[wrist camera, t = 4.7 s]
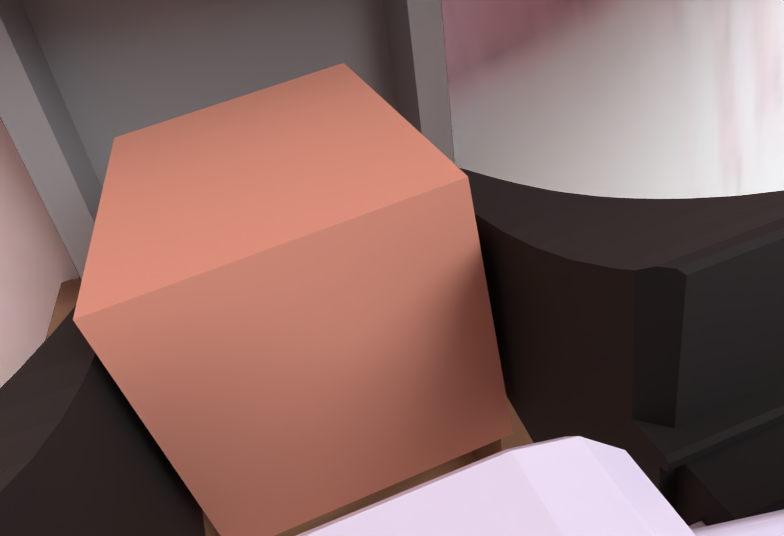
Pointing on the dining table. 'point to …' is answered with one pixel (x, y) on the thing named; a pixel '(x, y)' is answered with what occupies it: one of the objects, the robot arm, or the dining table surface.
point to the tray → (190, 75)
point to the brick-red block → (293, 301)
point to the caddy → (518, 438)
